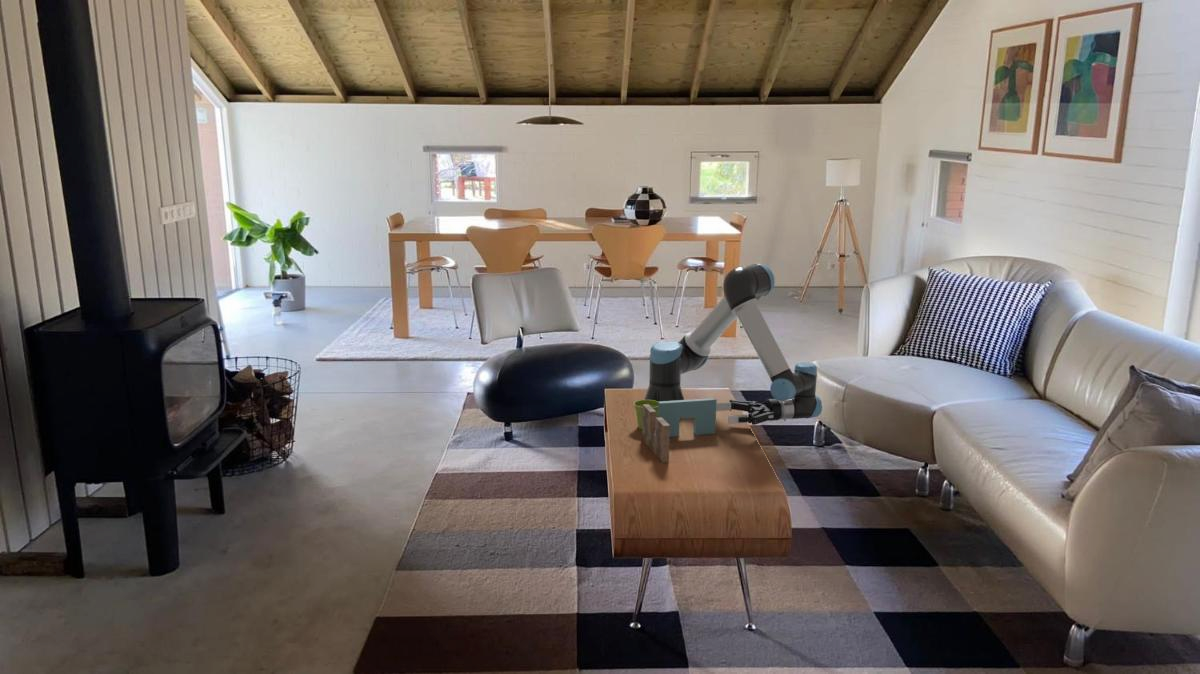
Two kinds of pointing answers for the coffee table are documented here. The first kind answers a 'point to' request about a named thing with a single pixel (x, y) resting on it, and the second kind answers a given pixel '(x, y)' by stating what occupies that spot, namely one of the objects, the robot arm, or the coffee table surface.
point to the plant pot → (639, 409)
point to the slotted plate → (689, 414)
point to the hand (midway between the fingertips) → (720, 413)
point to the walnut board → (655, 433)
